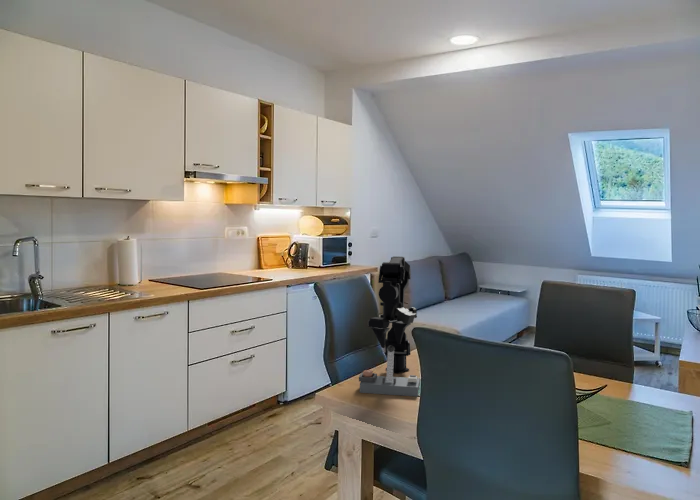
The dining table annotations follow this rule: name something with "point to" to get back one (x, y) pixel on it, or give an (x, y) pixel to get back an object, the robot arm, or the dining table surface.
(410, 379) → the rocker switch
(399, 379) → the panel
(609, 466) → the dining table surface
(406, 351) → the robot arm
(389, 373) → the toggle lever
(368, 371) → the push button
